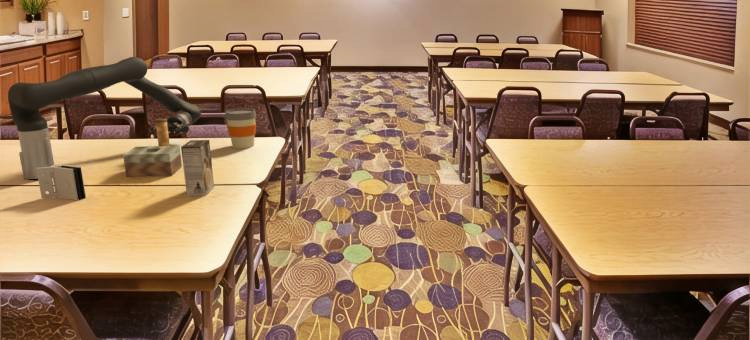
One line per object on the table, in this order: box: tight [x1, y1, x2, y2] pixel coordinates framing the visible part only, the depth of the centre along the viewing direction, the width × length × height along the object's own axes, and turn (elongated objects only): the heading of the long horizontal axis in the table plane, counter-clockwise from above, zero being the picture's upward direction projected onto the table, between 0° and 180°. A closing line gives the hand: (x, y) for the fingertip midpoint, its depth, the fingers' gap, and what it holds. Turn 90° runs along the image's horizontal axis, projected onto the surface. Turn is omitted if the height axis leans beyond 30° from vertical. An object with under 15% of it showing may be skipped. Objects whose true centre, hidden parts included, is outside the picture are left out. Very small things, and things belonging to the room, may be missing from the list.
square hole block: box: [122, 145, 183, 178], centre depth 209 cm, size 16×12×8 cm
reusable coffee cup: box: [225, 108, 257, 149], centre depth 244 cm, size 13×13×15 cm
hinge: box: [36, 164, 87, 201], centre depth 182 cm, size 14×5×10 cm, turn 81°
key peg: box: [154, 118, 171, 146], centre depth 220 cm, size 4×4×17 cm
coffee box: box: [180, 139, 215, 197], centre depth 184 cm, size 9×6×16 cm
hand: (164, 132), depth 221 cm, fingers open, 8 cm apart
